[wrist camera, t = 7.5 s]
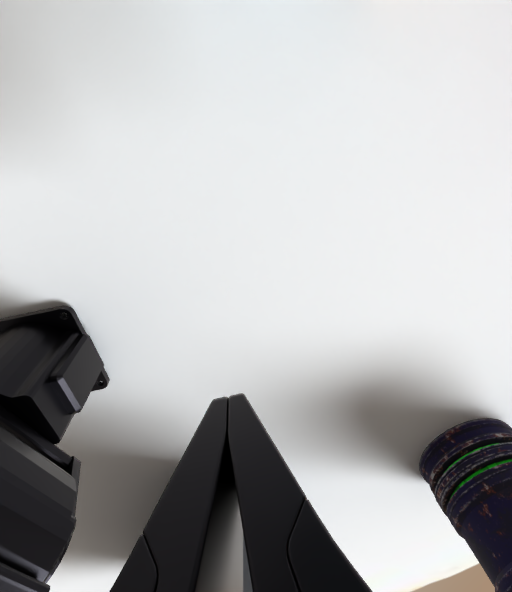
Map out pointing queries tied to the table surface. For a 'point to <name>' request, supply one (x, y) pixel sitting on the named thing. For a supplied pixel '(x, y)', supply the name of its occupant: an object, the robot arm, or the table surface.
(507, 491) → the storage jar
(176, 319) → the table surface
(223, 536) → the robot arm
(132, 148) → the table surface
